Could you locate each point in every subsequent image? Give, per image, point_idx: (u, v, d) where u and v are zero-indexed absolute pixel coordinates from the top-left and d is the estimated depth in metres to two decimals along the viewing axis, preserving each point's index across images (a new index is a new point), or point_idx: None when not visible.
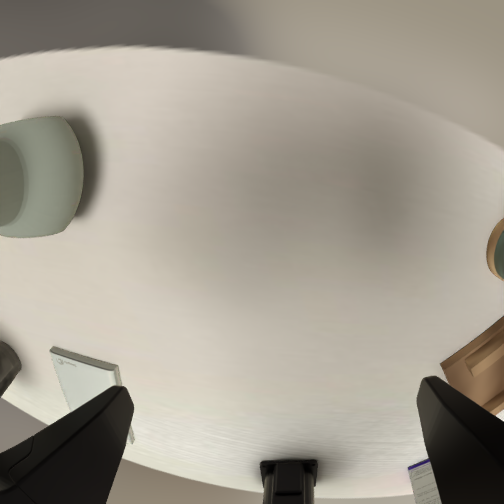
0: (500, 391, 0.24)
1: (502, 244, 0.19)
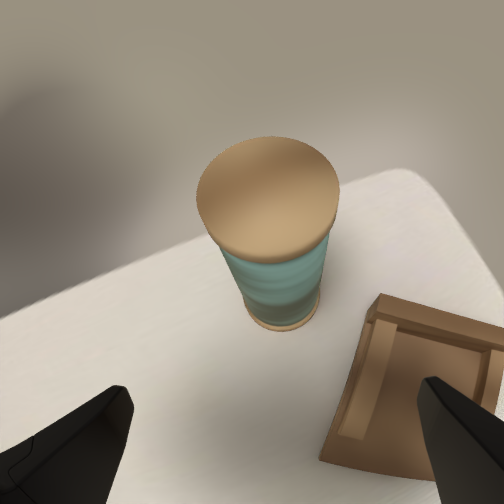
0: None
1: None
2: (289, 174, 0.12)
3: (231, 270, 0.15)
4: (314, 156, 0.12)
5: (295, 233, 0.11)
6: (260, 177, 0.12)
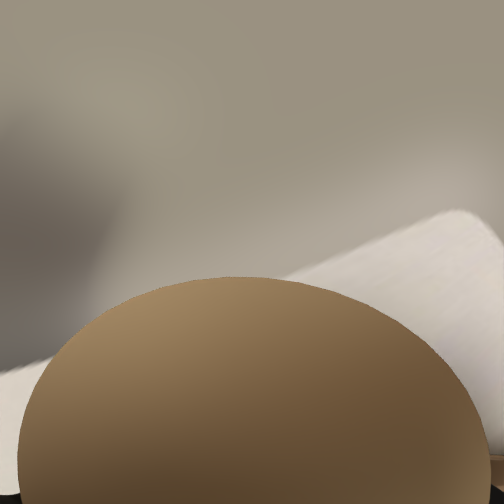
0: None
1: None
2: (322, 500, 0.02)
3: None
4: (430, 393, 0.02)
5: None
6: (198, 502, 0.02)
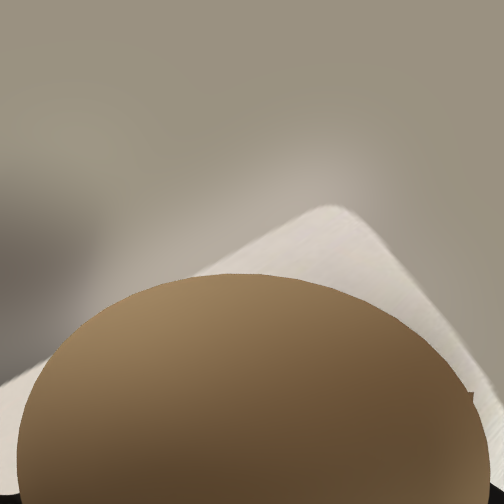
0: None
1: None
2: (320, 497, 0.02)
3: None
4: (429, 390, 0.02)
5: None
6: (198, 500, 0.02)
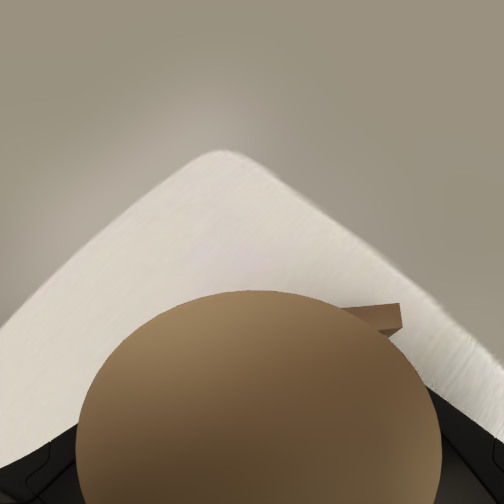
0: None
1: None
2: (313, 444, 0.04)
3: None
4: (388, 371, 0.04)
5: None
6: (227, 450, 0.04)
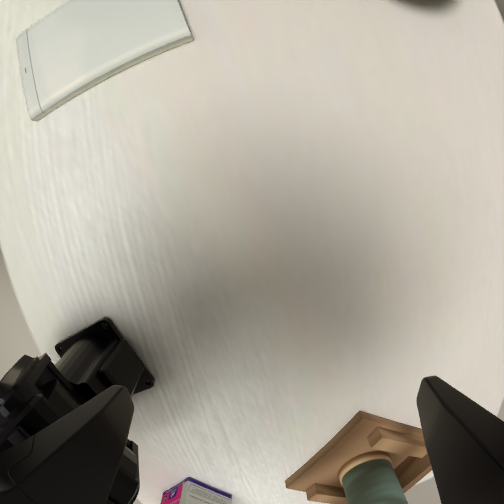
0: (337, 485, 0.26)
1: (381, 464, 0.23)
2: None
3: None
4: None
5: None
6: None
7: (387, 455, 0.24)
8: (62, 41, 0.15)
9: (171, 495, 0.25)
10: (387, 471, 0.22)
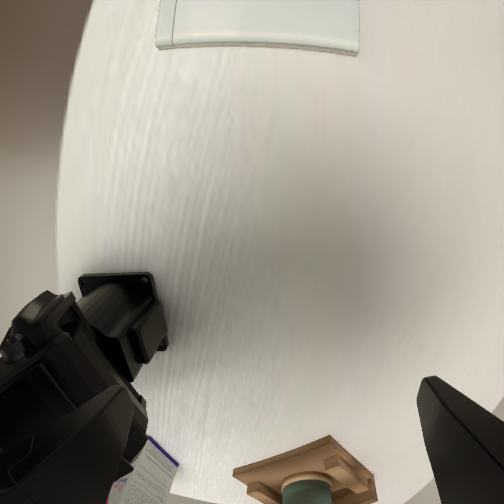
0: (275, 489, 0.29)
1: (324, 486, 0.25)
2: None
3: None
4: None
5: None
6: None
7: (330, 480, 0.27)
8: None
9: None
10: (327, 494, 0.25)
